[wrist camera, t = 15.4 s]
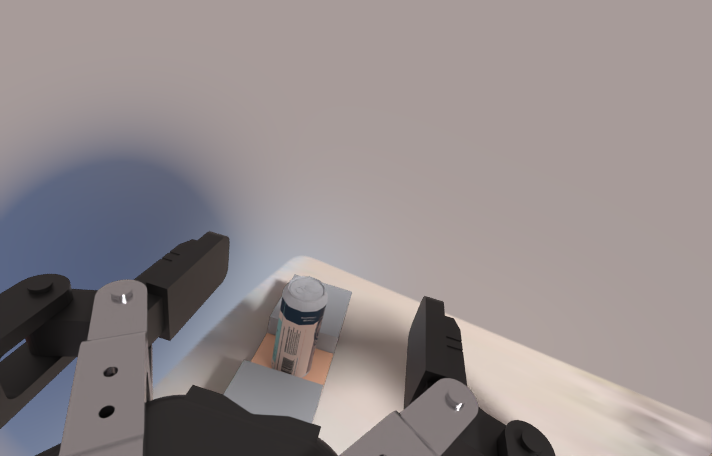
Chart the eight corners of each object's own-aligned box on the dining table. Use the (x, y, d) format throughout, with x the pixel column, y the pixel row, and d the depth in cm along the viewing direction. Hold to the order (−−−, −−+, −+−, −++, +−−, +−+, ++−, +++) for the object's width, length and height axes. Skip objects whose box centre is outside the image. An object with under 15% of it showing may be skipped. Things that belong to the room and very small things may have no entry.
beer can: (318, 373, 41) (338, 297, 35) (281, 389, 38) (296, 309, 33) (299, 344, 44) (315, 269, 39) (264, 356, 41) (275, 278, 36)
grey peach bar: (346, 311, 53) (352, 291, 51) (287, 505, 30) (293, 482, 28) (291, 294, 54) (294, 274, 52) (191, 472, 31) (191, 447, 29)
